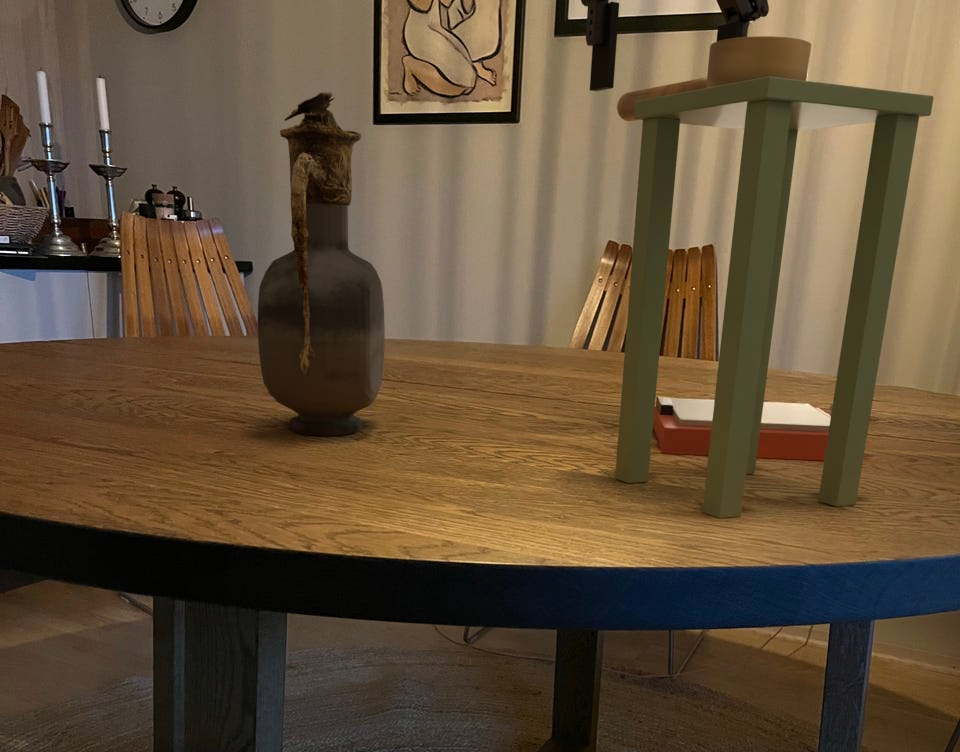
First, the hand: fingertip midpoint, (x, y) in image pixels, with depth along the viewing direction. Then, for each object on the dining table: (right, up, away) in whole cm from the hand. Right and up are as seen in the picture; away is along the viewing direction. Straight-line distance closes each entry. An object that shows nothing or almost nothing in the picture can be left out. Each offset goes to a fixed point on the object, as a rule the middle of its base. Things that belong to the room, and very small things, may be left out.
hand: (663, 97), depth 95 cm
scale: (+10, -30, +10) cm, 33 cm away
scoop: (0, -9, -15) cm, 17 cm away
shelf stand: (+3, -38, -12) cm, 40 cm away
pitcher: (-32, -30, +7) cm, 44 cm away
